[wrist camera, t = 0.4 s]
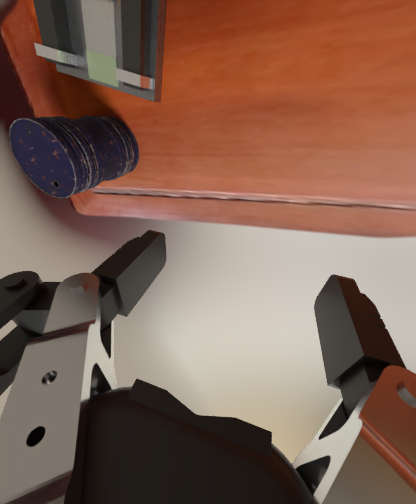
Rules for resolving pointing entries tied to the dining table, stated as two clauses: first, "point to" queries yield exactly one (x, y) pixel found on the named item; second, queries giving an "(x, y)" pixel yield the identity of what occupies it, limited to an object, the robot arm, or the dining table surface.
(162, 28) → the grey flat railed piece
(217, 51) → the dining table surface
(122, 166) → the dark blue cylinder
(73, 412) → the robot arm
